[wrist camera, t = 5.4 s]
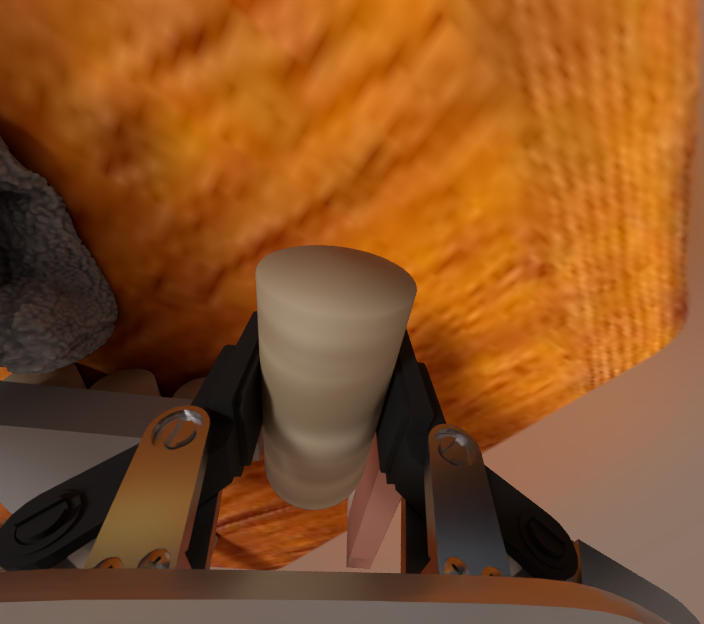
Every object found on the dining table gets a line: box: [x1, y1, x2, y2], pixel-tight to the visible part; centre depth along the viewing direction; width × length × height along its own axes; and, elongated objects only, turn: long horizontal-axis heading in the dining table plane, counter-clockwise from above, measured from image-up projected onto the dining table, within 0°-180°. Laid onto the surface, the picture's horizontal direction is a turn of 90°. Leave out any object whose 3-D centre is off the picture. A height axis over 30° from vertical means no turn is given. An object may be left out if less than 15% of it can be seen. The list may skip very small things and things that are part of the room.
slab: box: [0, 381, 193, 514], centre depth 20 cm, size 12×14×3 cm
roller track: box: [3, 363, 264, 461], centre depth 24 cm, size 10×25×4 cm, turn 82°
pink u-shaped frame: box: [347, 432, 402, 569], centre depth 23 cm, size 17×2×8 cm, turn 172°
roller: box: [256, 245, 417, 510], centre depth 9 cm, size 8×4×4 cm, turn 172°
